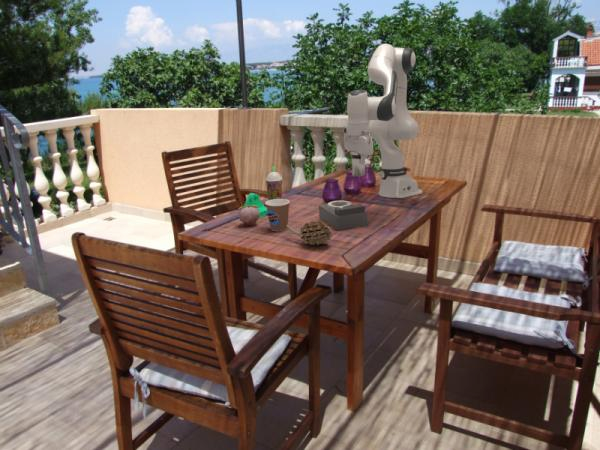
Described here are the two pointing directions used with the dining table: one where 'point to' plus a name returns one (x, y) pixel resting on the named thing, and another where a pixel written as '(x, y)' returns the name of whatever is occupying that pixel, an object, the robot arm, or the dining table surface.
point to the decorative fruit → (248, 214)
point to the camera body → (343, 215)
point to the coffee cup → (278, 214)
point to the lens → (357, 165)
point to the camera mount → (254, 200)
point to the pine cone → (314, 232)
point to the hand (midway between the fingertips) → (358, 163)
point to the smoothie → (274, 185)
